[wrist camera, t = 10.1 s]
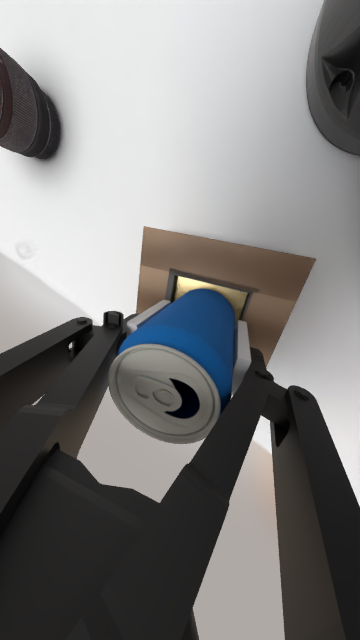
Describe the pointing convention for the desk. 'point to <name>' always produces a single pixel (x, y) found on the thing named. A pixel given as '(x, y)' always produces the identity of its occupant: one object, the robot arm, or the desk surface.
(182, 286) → the gold metal plaque
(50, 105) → the camera lens
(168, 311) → the beverage can
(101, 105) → the desk surface
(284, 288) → the socket block
